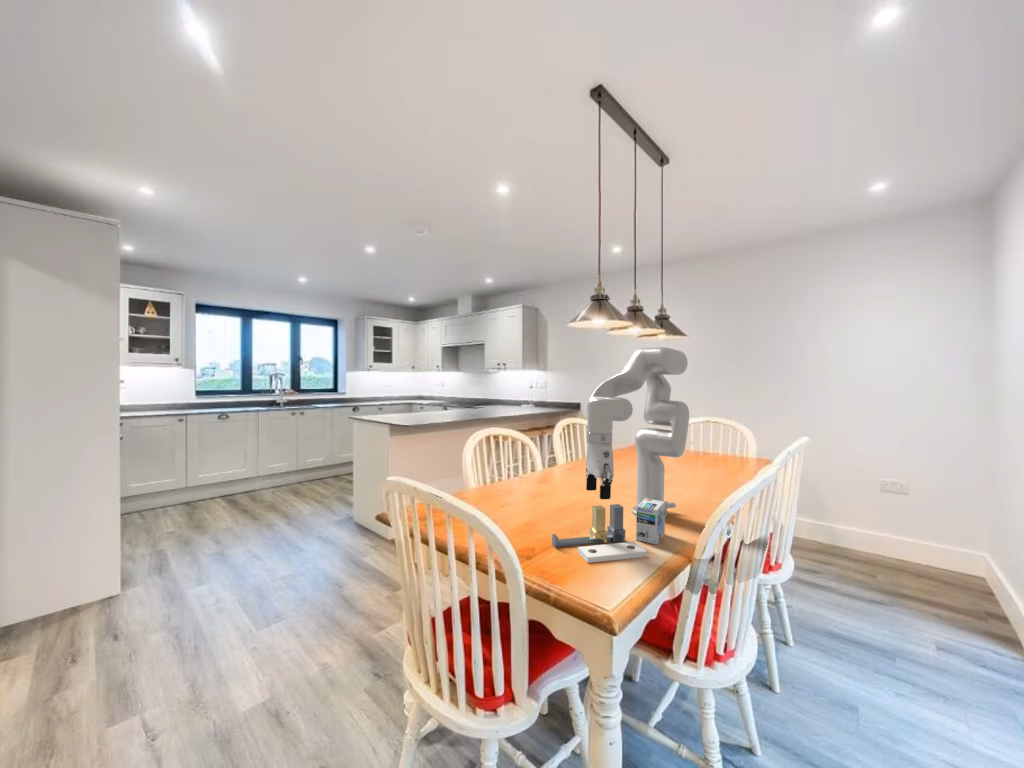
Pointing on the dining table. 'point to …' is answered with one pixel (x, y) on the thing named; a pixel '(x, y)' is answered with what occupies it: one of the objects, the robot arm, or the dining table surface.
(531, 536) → the dining table surface
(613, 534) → the rail
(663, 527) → the light bulb box
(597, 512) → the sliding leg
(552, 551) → the dining table surface
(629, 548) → the hole plate
